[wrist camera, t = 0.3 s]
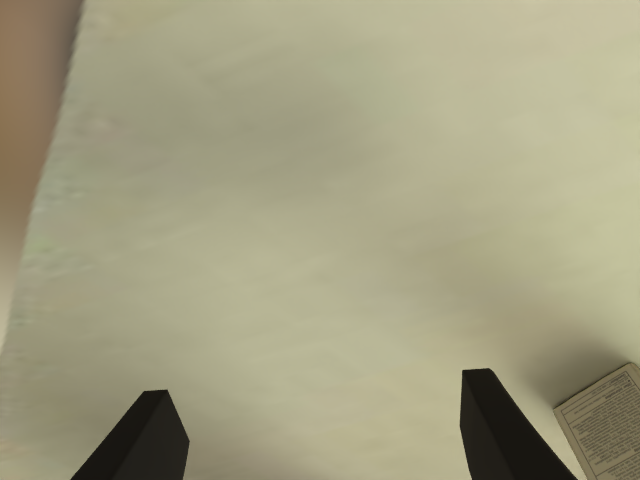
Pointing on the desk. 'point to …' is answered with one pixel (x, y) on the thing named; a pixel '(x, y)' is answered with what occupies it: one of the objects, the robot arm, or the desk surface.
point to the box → (606, 426)
